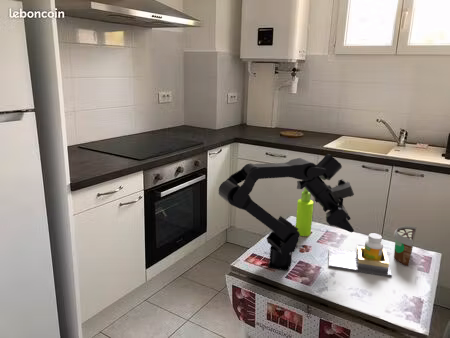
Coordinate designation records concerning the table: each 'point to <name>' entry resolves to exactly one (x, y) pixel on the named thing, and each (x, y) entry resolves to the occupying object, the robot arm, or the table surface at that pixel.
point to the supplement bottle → (373, 247)
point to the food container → (404, 244)
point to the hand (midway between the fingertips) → (351, 225)
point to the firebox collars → (359, 262)
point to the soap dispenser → (304, 214)
